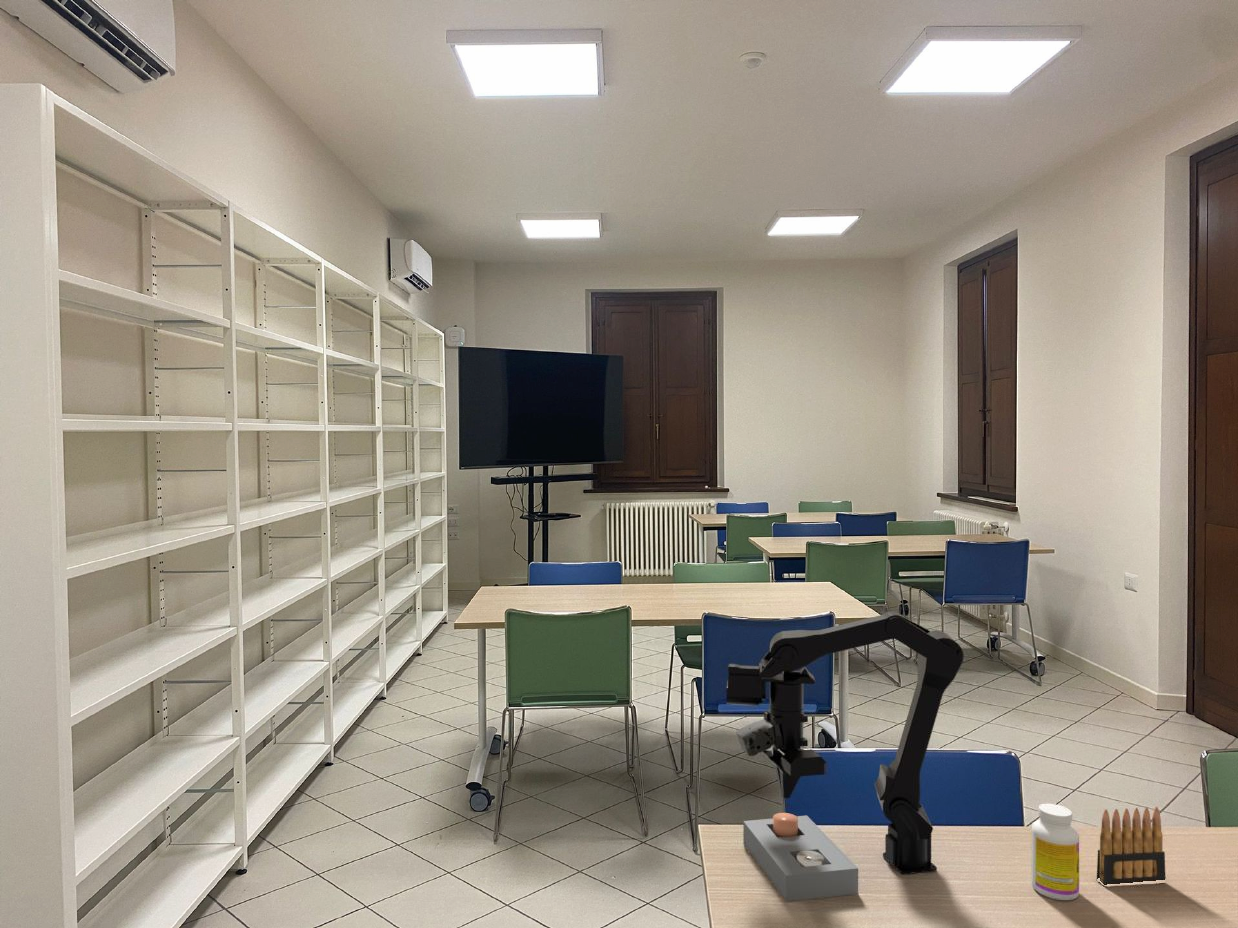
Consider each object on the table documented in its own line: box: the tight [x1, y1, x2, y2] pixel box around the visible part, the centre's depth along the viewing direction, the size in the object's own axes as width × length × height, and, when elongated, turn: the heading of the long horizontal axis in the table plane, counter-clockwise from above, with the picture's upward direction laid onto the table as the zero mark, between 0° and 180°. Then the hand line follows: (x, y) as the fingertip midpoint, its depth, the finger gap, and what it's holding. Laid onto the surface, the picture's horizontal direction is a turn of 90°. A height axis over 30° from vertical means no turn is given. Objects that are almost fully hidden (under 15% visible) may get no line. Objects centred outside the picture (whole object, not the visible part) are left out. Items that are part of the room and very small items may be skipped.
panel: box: [742, 815, 859, 903], centre depth 134 cm, size 12×19×4 cm, turn 11°
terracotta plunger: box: [772, 812, 798, 838], centre depth 138 cm, size 4×4×3 cm
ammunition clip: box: [1096, 806, 1167, 885], centre depth 129 cm, size 11×2×12 cm, turn 96°
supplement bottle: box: [1030, 803, 1080, 901], centre depth 126 cm, size 7×7×13 cm
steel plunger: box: [797, 850, 824, 867], centre depth 129 cm, size 4×4×3 cm
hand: (785, 797), depth 138 cm, fingers closed
